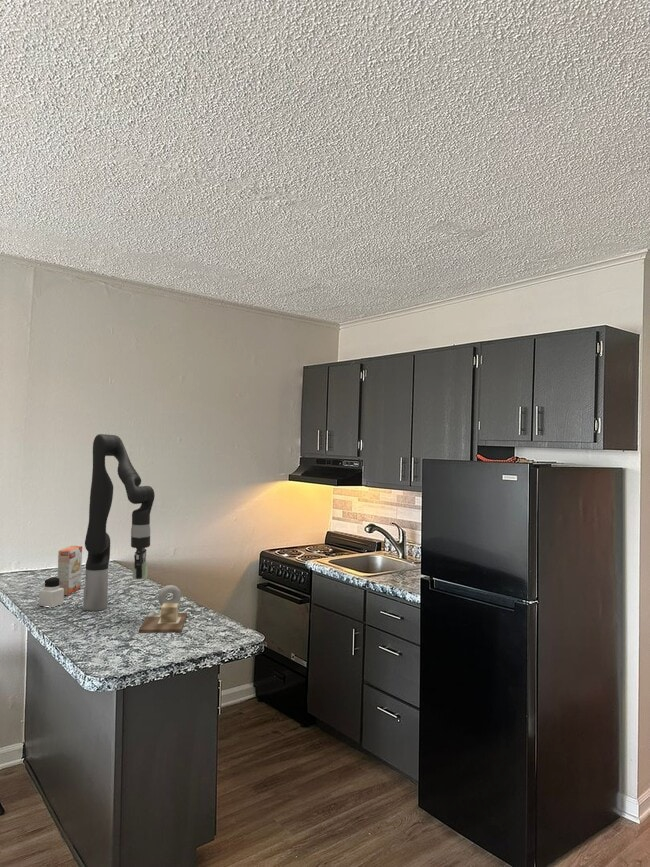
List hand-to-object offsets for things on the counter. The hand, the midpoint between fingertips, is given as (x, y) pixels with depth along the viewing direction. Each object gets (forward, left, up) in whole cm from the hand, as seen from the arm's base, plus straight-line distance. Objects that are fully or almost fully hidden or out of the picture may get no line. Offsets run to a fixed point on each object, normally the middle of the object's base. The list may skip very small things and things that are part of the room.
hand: (140, 576), depth 250 cm
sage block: (0, 0, 0) cm, 0 cm away
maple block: (+13, -5, -16) cm, 21 cm away
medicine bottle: (-41, +23, -18) cm, 51 cm away
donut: (+10, +18, -18) cm, 27 cm away
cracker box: (-40, +46, -18) cm, 64 cm away
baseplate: (+11, -5, -18) cm, 21 cm away
